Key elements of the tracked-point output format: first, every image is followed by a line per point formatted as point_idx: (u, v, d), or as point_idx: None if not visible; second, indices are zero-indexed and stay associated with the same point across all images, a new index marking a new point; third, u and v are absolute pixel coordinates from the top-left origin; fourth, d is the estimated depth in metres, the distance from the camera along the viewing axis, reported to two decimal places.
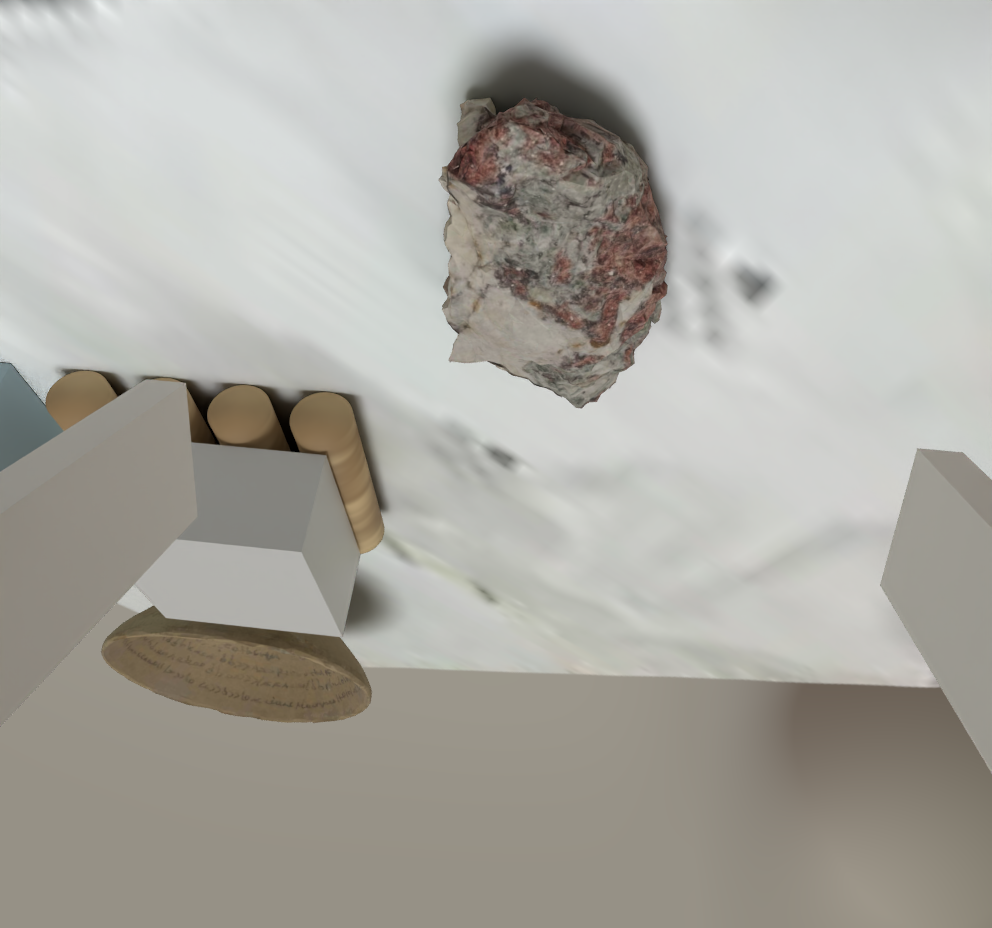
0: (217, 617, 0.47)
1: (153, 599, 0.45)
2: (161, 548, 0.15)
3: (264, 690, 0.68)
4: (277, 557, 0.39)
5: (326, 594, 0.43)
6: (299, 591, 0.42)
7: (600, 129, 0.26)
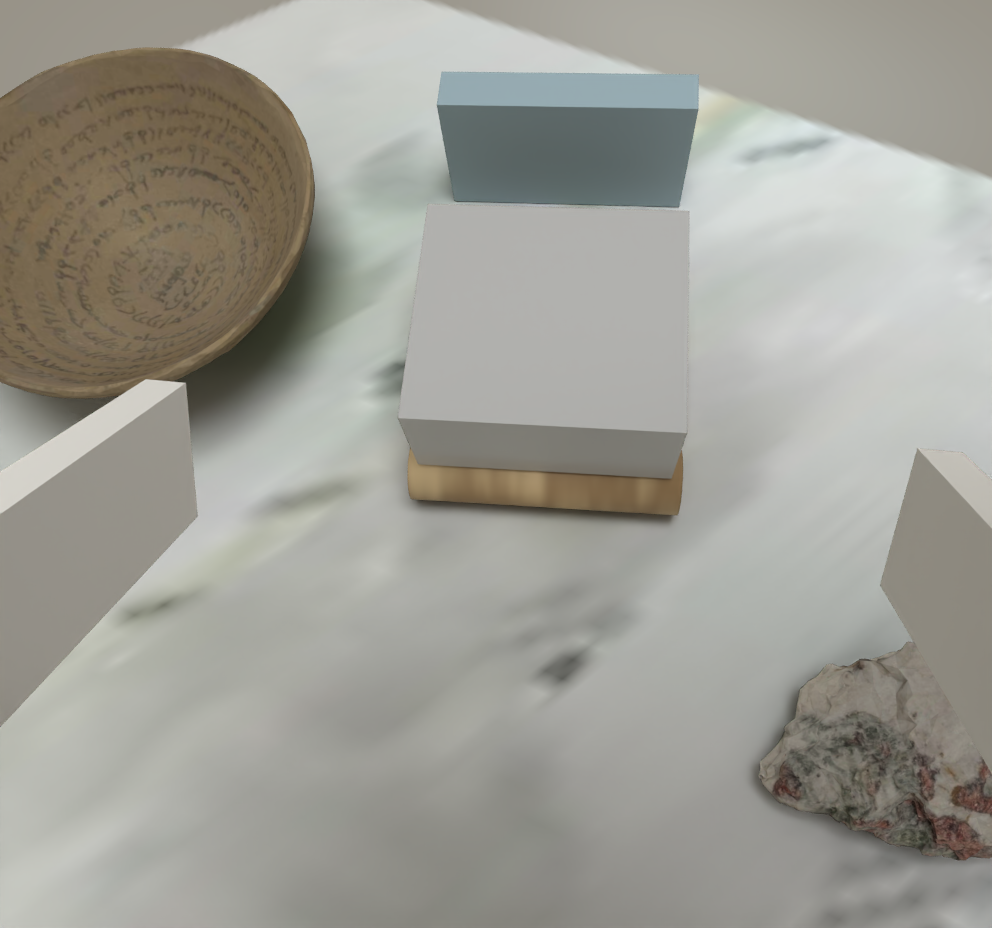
0: (442, 269, 0.36)
1: (491, 210, 0.36)
2: (161, 548, 0.15)
3: None
4: (664, 400, 0.33)
5: (535, 428, 0.33)
6: (558, 399, 0.33)
7: None
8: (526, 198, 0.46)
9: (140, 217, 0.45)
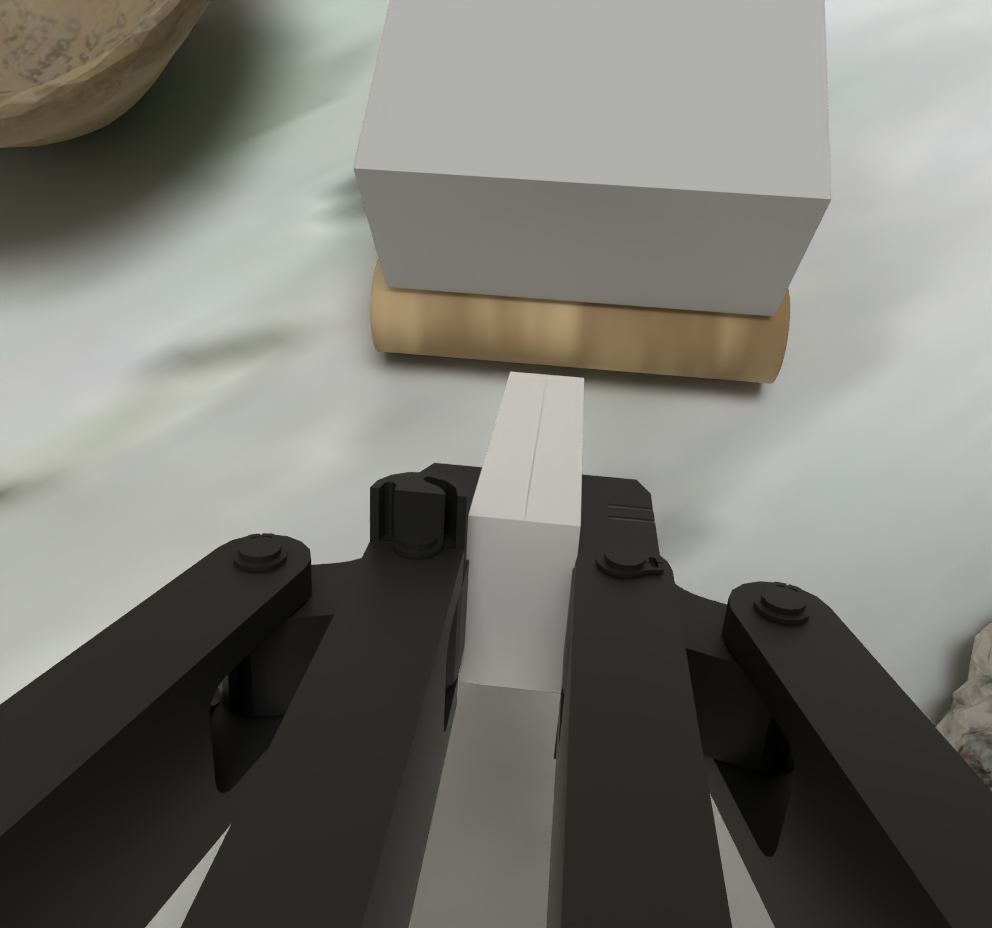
0: None
1: None
2: None
3: None
4: (791, 151, 0.20)
5: (578, 192, 0.20)
6: (618, 146, 0.20)
7: None
8: None
9: None
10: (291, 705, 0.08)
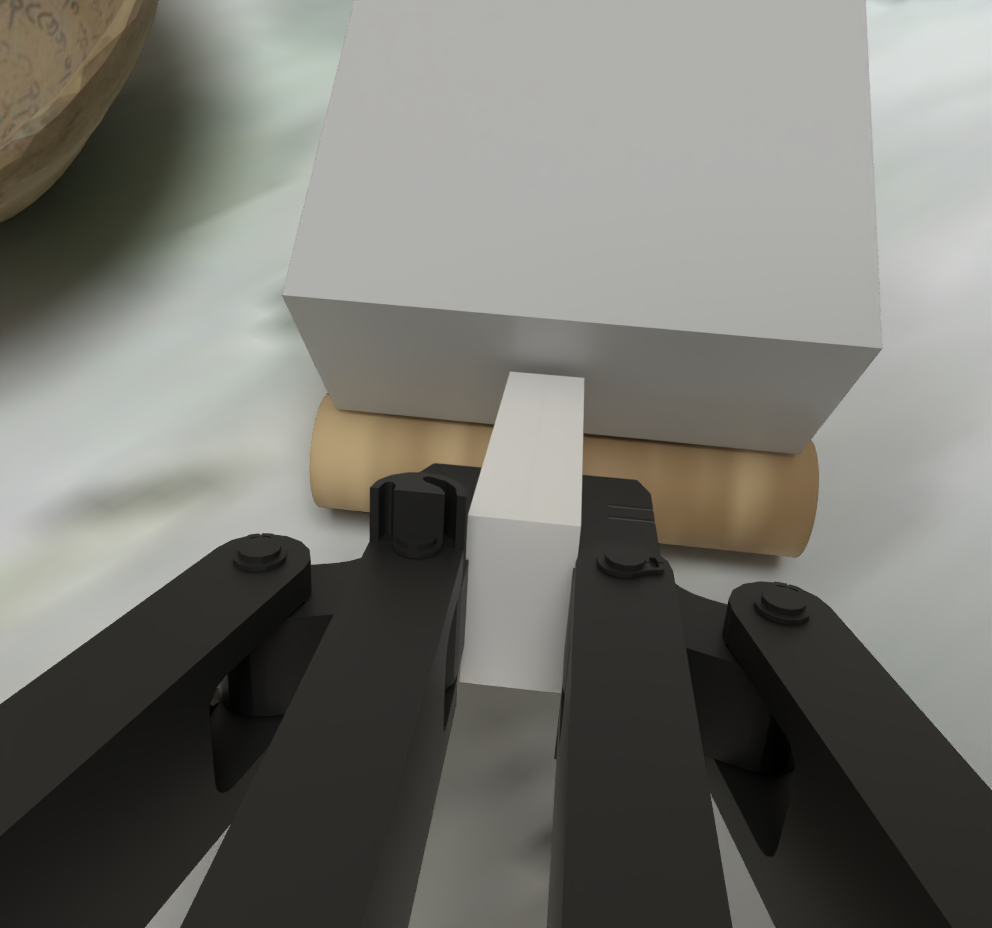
0: (392, 31, 0.19)
1: None
2: None
3: None
4: (831, 282, 0.16)
5: (563, 329, 0.16)
6: (614, 271, 0.16)
7: None
8: None
9: None
10: (291, 705, 0.08)
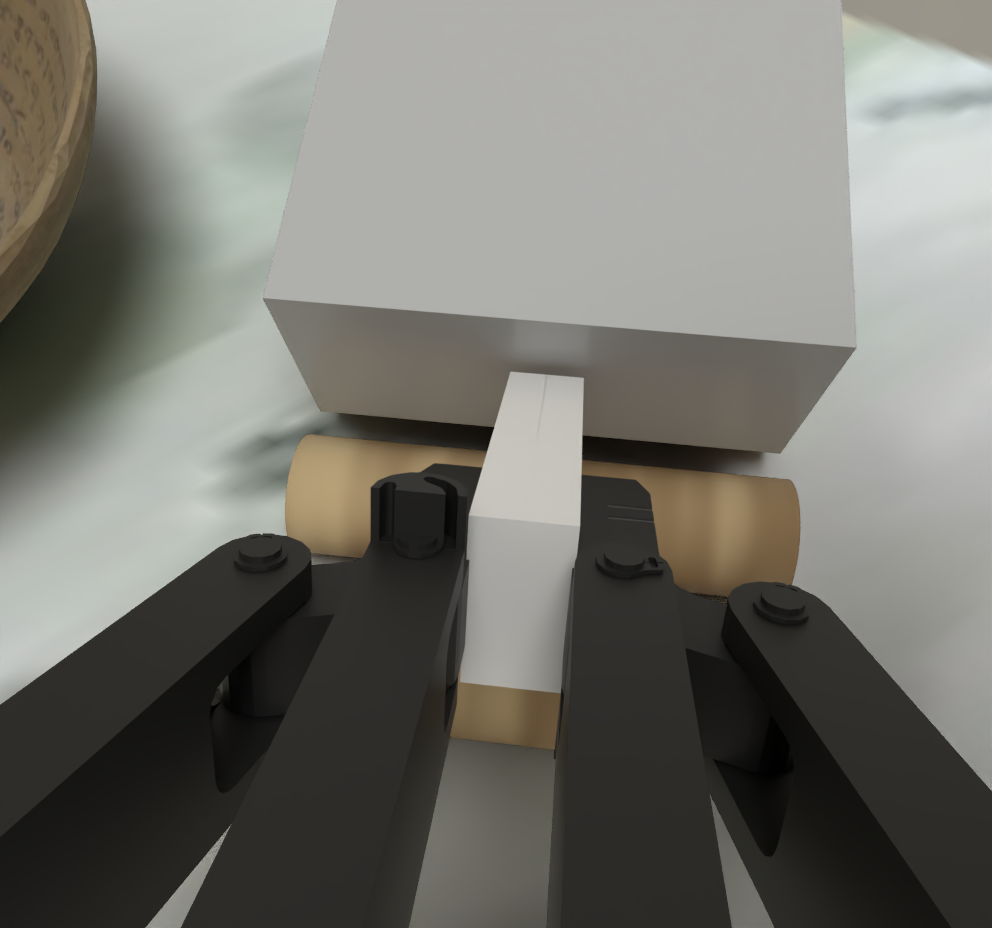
0: (373, 36, 0.19)
1: None
2: None
3: None
4: (806, 282, 0.16)
5: (541, 331, 0.16)
6: (591, 273, 0.16)
7: None
8: None
9: None
10: (291, 705, 0.08)
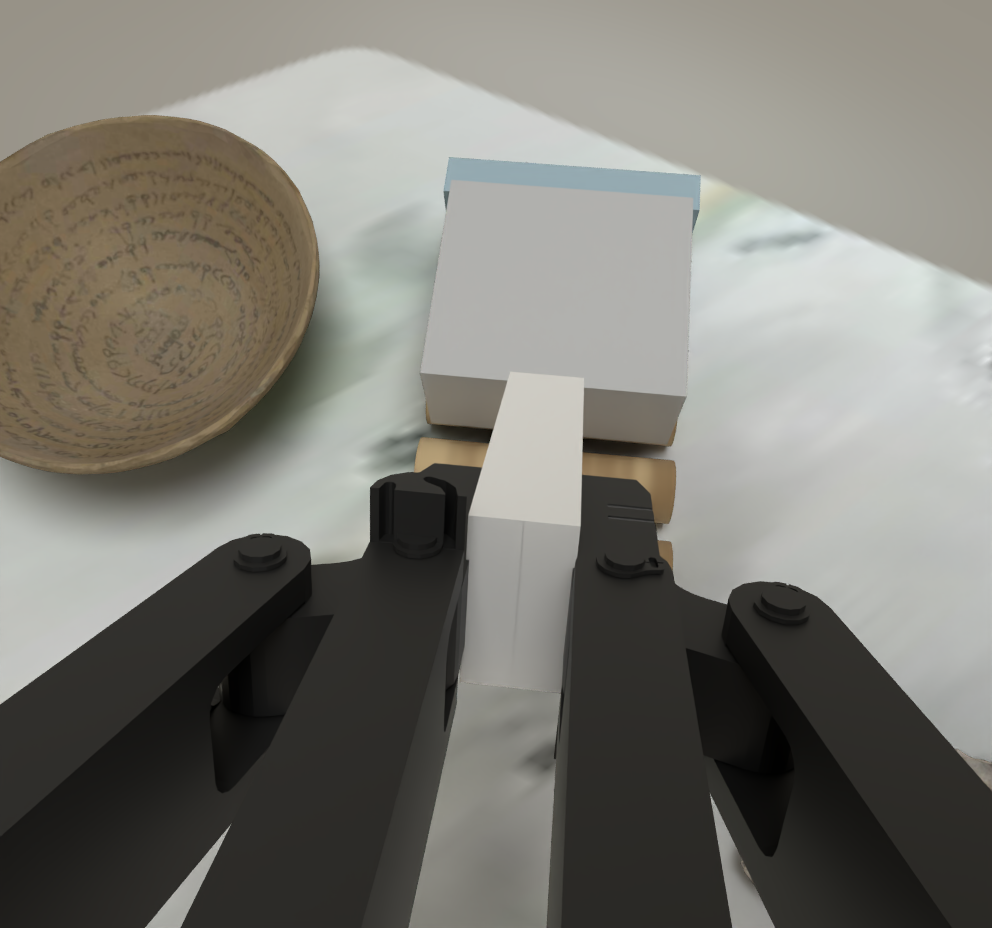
0: (463, 240, 0.38)
1: (510, 188, 0.39)
2: None
3: None
4: (666, 366, 0.36)
5: None
6: (570, 361, 0.36)
7: None
8: None
9: (139, 279, 0.45)
10: (291, 705, 0.08)
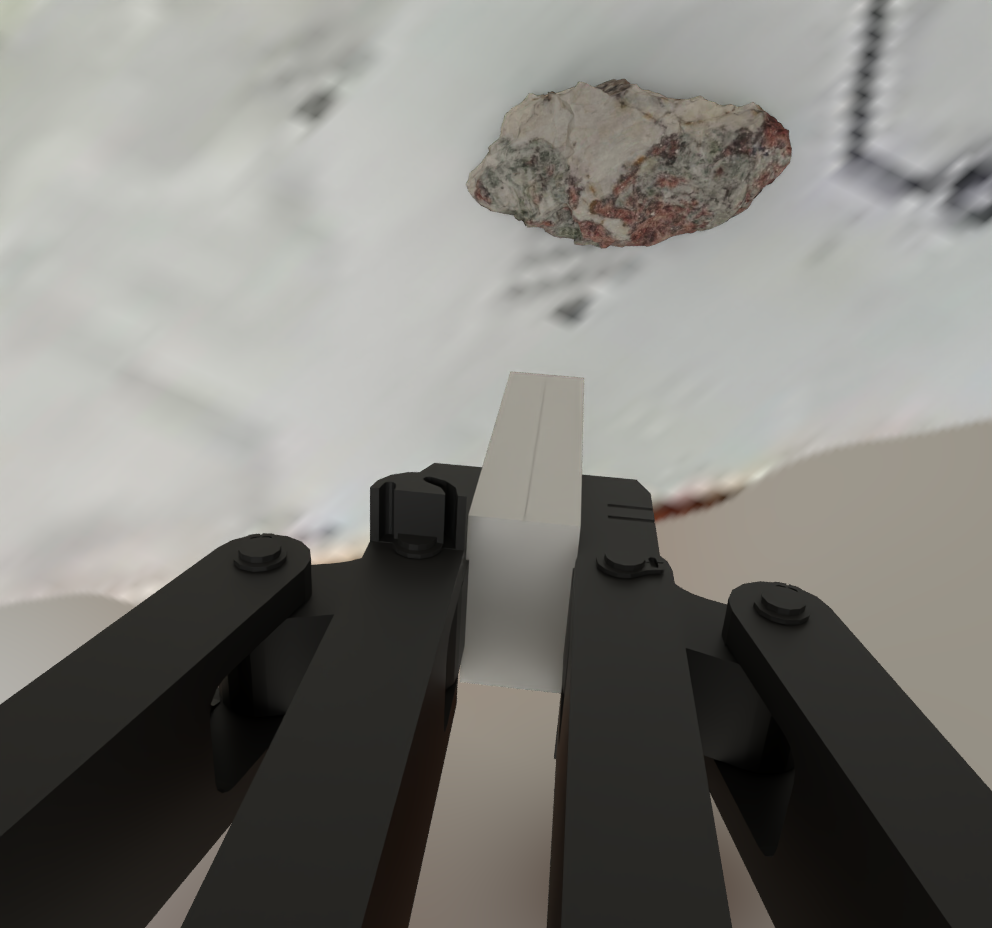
0: None
1: None
2: None
3: None
4: None
5: None
6: None
7: None
8: None
9: None
10: (291, 705, 0.08)
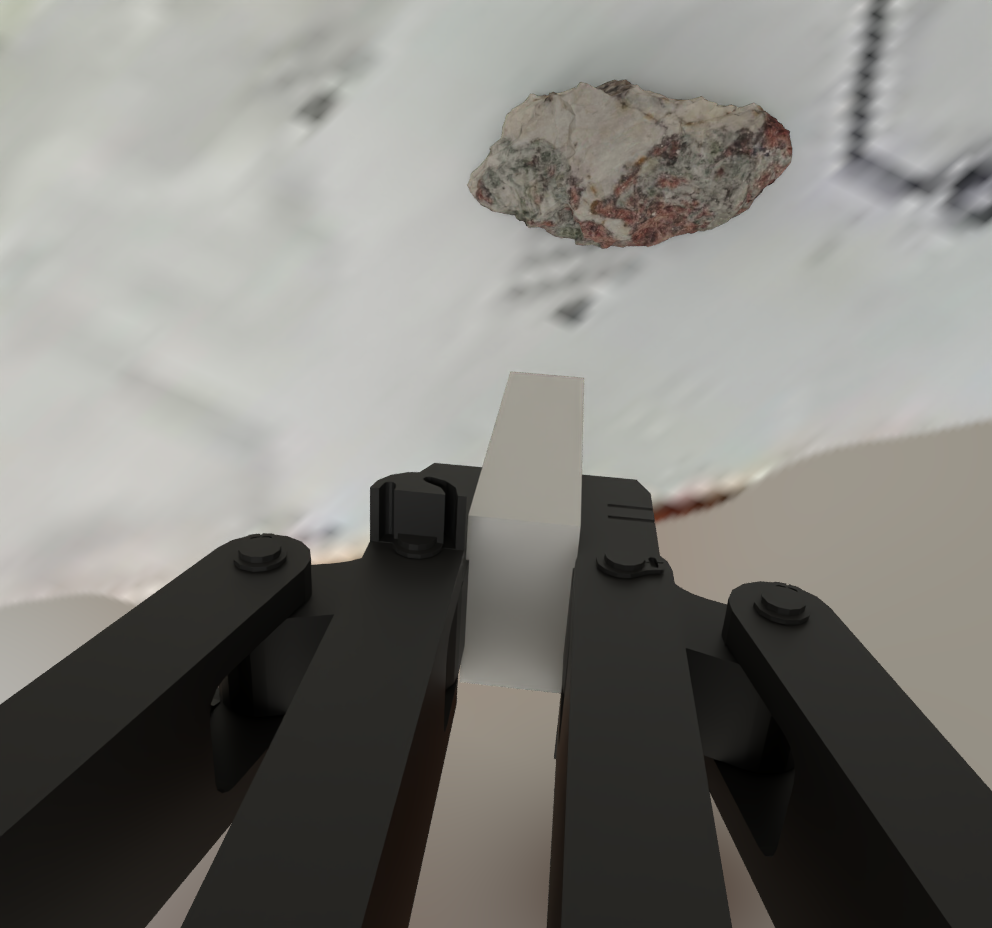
0: None
1: None
2: None
3: None
4: None
5: None
6: None
7: None
8: None
9: None
10: (291, 705, 0.08)
